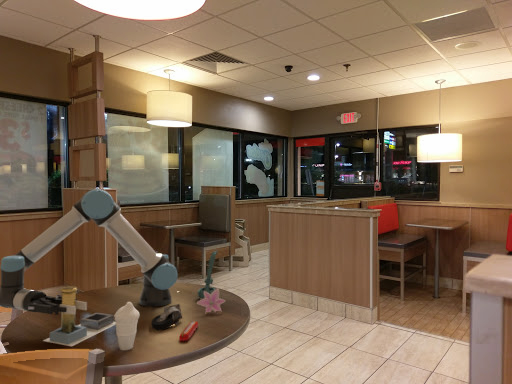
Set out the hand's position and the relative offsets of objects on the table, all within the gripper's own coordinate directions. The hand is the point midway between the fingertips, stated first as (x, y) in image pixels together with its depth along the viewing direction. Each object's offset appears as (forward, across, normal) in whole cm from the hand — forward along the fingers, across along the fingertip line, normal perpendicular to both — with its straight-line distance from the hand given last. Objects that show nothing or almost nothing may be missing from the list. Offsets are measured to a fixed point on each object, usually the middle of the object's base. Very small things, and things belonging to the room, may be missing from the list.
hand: (80, 308), depth 128 cm
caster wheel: (+20, -25, -12) cm, 34 cm away
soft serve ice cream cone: (+18, -3, -12) cm, 22 cm away
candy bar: (+32, -21, -13) cm, 40 cm away
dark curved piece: (+19, -63, -12) cm, 67 cm away
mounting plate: (-5, -7, -12) cm, 15 cm away
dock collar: (-5, 0, -11) cm, 12 cm away
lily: (+29, -47, -12) cm, 56 cm away
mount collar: (-5, -14, -11) cm, 19 cm away
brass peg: (-5, 0, -8) cm, 10 cm away
